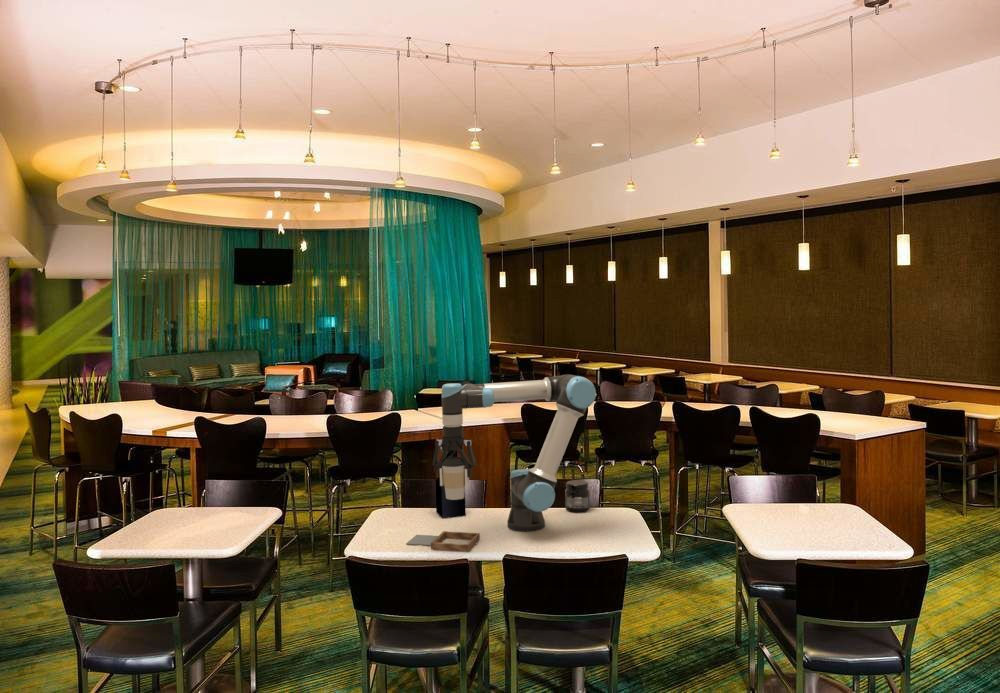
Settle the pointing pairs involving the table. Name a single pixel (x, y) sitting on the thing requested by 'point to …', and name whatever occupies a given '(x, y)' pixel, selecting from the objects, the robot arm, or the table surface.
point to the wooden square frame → (455, 547)
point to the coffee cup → (454, 477)
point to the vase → (447, 506)
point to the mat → (422, 540)
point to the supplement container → (577, 496)
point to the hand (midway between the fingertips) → (454, 485)
